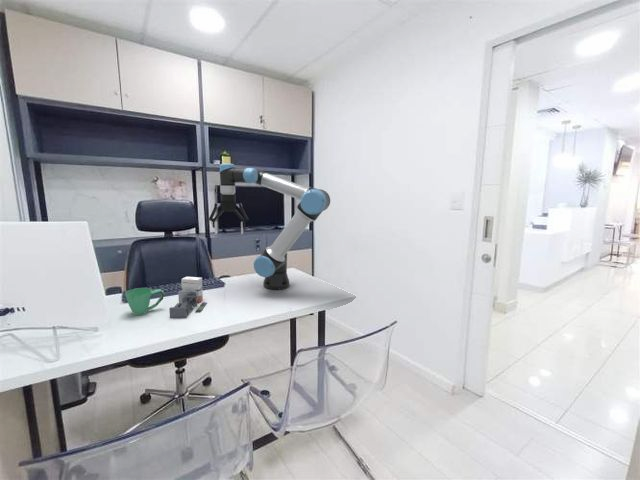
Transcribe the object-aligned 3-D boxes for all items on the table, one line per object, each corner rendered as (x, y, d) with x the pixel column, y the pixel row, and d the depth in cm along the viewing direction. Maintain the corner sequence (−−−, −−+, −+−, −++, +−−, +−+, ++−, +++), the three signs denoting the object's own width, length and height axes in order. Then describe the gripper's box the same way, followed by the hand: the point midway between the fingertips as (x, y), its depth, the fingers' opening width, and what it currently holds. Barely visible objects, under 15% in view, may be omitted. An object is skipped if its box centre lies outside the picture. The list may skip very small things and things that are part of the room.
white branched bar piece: (203, 305, 142) (203, 291, 141) (198, 312, 134) (197, 297, 133) (179, 304, 141) (179, 291, 140) (173, 312, 133) (172, 297, 132)
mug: (128, 319, 125) (126, 297, 123) (126, 311, 133) (124, 290, 131) (166, 312, 134) (165, 291, 132) (162, 304, 142) (161, 284, 140)
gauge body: (207, 302, 145) (207, 294, 145) (196, 318, 129) (196, 308, 128) (183, 302, 144) (183, 294, 144) (169, 318, 128) (169, 308, 127)
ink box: (203, 299, 149) (202, 277, 147) (198, 303, 144) (197, 280, 142) (186, 298, 150) (185, 275, 148) (181, 302, 145) (180, 279, 143)
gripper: (252, 194, 161) (253, 232, 165) (205, 193, 158) (207, 232, 162) (251, 194, 154) (252, 234, 158) (201, 193, 151) (203, 234, 155)
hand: (229, 233), depth 160 cm, fingers open, 13 cm apart
